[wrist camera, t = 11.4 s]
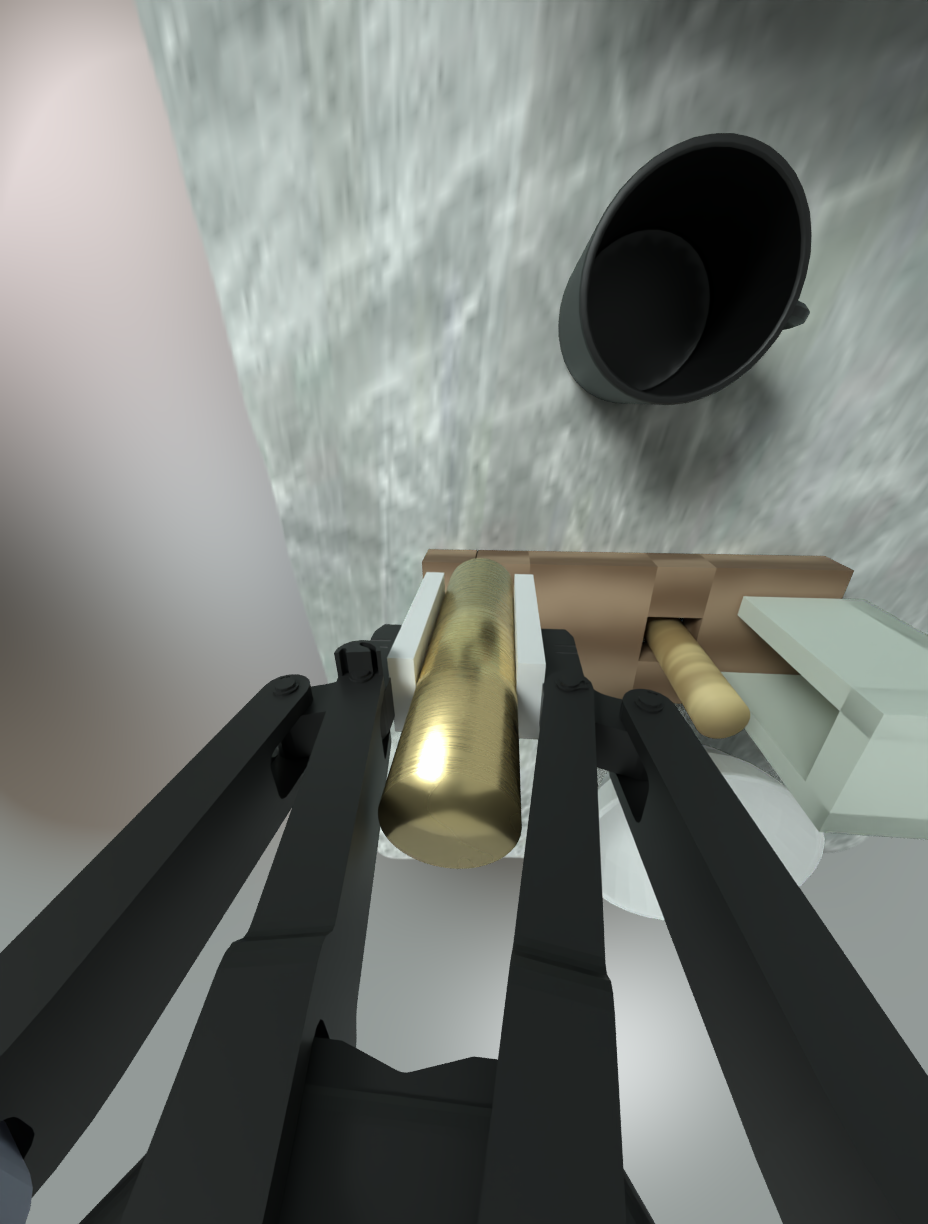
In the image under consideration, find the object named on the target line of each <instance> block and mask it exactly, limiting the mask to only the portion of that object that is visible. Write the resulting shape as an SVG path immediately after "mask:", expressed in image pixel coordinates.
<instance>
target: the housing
mask: <svg viewBox="0 0 928 1224" xmlns="http://www.w3.org/2000/svg"><path fill="white" fill-rule="evenodd" d="M738 616H739V617H740V618H741V619H742V620H743V621H744V622H745V623H747V624H748V625H749V626H750V627H751V628H752V629H753V630H754V631H755V632H756V633H757V634H758V635H759V636H760V637H761V638H762V639H764V640H765V641H766V642H767V643H768V644H769V645H770V646H771V647H772V648H773V649H774V650H775V651H776V652H777V653H778V654H780V655H781V656H782V657H783V658H784V659H785V660H786V661H787V662H788V663H789V664H790V665H791V666H792V667H793V668H794V669H795V670H797V671H798V672H799V673H800V674H801V675H786V674H761V673H736V672H721V673H722V674H723V676H724V677H725V678H726V679H727V681H728V682H729V683H730V685H731V686H732V687H733V688H734V690H735V691H736V692H737V694H738V695H739V696H740V697H741V699H742V700H743V701H744V703H745V704H746V705H747V706H748V708H749V710H750V720H749V722H748V724H747V726H746V727H745V728H744V729H745V730H746V731H747V733H748V734H749V736H750V737H751V738H752V740H753V741H754V742H755V744H756V745H757V747H758V748H759V749H760V751H761V752H762V754H763V755H764V756H765V758H766V759H767V761H768V762H769V763H770V765H771V766H772V768H773V769H774V770H775V772H776V773H777V774H778V776H779V777H780V779H781V780H782V781H783V783H784V784H785V786H786V787H787V788H788V790H789V791H790V793H791V794H792V795H793V797H794V798H795V799H796V801H797V802H798V804H799V805H800V806H801V808H802V809H803V811H804V812H805V813H806V815H807V816H808V818H809V819H810V820H811V822H812V823H813V825H814V826H815V827H816V829H817V830H818V831H819V832H824V833H839V834H853V835H867V836H882V837H896V838H911V839H925V840H928V635H926V634H925V633H923V632H921V631H919V630H918V629H916V628H914V627H912V626H910V625H909V624H907V623H905V622H903V621H902V620H900V619H898V618H896V617H894V616H893V615H891V614H889V613H887V612H886V611H884V610H882V609H880V608H878V607H877V606H875V605H873V604H871V603H870V602H868V601H866V600H864V599H829V598H790V597H750V596H743V599H742V602H741V605H740V609H739V612H738Z"/></svg>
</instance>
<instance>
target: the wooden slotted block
mask: <svg viewBox="0 0 928 1224" xmlns="http://www.w3.org/2000/svg"><path fill="white" fill-rule="evenodd" d="M476 558H486V559H490V560H493V561H496V562H498V563H499V564H501V565H502V566H503V567H505V568H506V570H507V571H508V572H509V574H510V575H511V577H512V580H513V584H514V577H515V574H531V575H533V577H534V584H535V591H536V598H537V605H538V613H539V620H540V627H541V629H566V630H567V631H568V632H569V633H570V634H571V635H572V636H573V637H574V641H575V644H576V648H577V652H578V655H579V659H580V663H581V666H582V670H583V674H584V677H586V678H587V679H588V680H589V681H591V683H592V685H593V689H594V690H596V691H598V692H600V693H602V694H604V695H607V696H611V697H615V698H619V699H622V698H623V696H624V694H625V693H626V692H628V691H630V690H633V689H649V690H652V691H655V692H659V693H661V694H662V695H664V696H666V697H668V698H669V699H670V700H671V701H672V702H673V703H677V704H683V706H684V708H685V709H686V711H687V713H688V715H689V716H690V718H691V720H692V722H693V723H694V725H695V727H696V729H697V730H698V731H699V732H700V733H701V734H702V735H704V736H706V737H709V738H716V739H720V738H727V737H730V736H733V735H735V734H737V733H739V732H740V731H742V730H743V729H744V728H745V727H746V726H747V724H748V722H749V720H750V710H749V708H748V706H747V705H746V704H745V703H744V701H743V700H742V699H741V697H740V696H739V695H738V694H737V692H736V691H735V690H734V688H733V687H732V686H731V685H730V683H729V682H728V681H727V679H726V678H725V677H724V676H723V674H722V673H721V672H736V673H761V674H786V675H801V674H800V673H799V672H798V671H797V670H795V669H794V668H793V667H792V666H791V665H790V664H789V663H788V662H787V661H786V660H785V659H784V658H783V657H782V656H781V655H780V654H778V653H777V652H776V651H775V650H774V649H773V648H772V647H771V646H770V645H769V644H768V643H767V642H766V641H765V640H764V639H762V638H761V637H760V636H759V635H758V634H757V633H756V632H755V631H754V630H753V629H752V628H751V627H750V626H749V625H748V624H747V623H745V622H744V621H743V620H742V619H741V618H740V617H739V616H738V612H739V609H740V605H741V602H742V599H743V596H750V597H790V598H829V599H842V598H843V595H844V593H845V591H846V588H847V586H848V584H849V581H850V579H851V577H852V574H853V572H854V570H852V569H850V568H848V567H846V566H844V565H842V564H840V563H838V562H836V561H834V560H832V559H830V558H828V557H826V556H789V555H731V554H673V553H614V552H556V551H497V550H478V553H477V550H439V549H429V550H428V552H427V553H426V555H425V557H424V559H423V561H422V570H423V579H424V576H425V574H426V572H441V573H444V577H445V593H446V590H447V587H448V584H449V580H450V577H451V575H452V573H453V572H454V570H455V569H456V568H457V567H458V566H459V565H461V564H462V563H464V562H466V561H468V560H471V559H476ZM679 618H683V622H681V621H680V619H679ZM643 636H644V638H645V640H646V641H647V643H644V642H642V641H643Z"/></svg>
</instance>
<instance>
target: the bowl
mask: <svg viewBox="0 0 928 1224" xmlns="http://www.w3.org/2000/svg"><path fill="white" fill-rule="evenodd" d="M702 746H703V747H704V749H705V750H706V751H707V753H708V754H709V756H710V757H711V759H712V760H713V762H714V763H715V765H716V766H717V768H718V769H719V771H720V772H721V773H722V775H723V776H724V778H725V779H726V781H727V782H728V784H729V785H730V787H731V788H732V790H733V791H734V793H735V794H736V795H737V797H738V798H739V800H740V801H741V803H742V804H743V806H744V807H745V809H746V810H747V812H748V813H749V815H750V816H751V817H752V819H753V820H754V822H755V823H756V825H757V826H758V828H759V829H760V831H761V832H762V834H763V835H764V837H765V838H766V839H767V841H768V842H769V844H770V845H771V847H772V848H773V850H774V851H775V853H776V854H777V856H778V857H779V859H780V860H781V861H782V863H783V864H784V866H785V867H786V869H787V870H788V872H789V873H790V875H791V876H792V878H793V879H794V881H795V882H796V883H797V885H798V886H799V887H800V886H801V885H802V884H803V883H804V882H805V881H806V880H807V879H808V878H809V877H810V875H811V874H812V873H813V872H814V871H815V869H816V867H817V865H818V863H819V861H820V860H821V857H822V855H823V849H824V844H825V838H824V832H819V831H818V830H817V829H816V827H815V826H814V825H813V823H812V822H811V820H810V819H809V818H808V816H807V815H806V813H805V812H804V811H803V809H802V808H801V806H800V805H799V804H798V802H797V801H796V799H795V798H794V797H793V795H792V794H791V793H790V791H789V790H788V788H787V787H786V786H785V785H784V784H782V783H781V782H779V781H778V780H776V779H775V778H773V777H772V776H771V775H769V774H768V773H766V772H765V771H763V770H761V769H759V768H758V767H756V766H754V765H753V764H751V763H749V762H746V761H744V760H742V759H739V758H737V757H735V756H732V755H730V754H727V753H724V752H722V751H721V750H718V749H715V748H712V747H710V746H707V745H702ZM598 806H599V829H600V852H601V875H602V897H603V898H604V899H606V900H607V901H608V902H610V903H611V904H613V905H615V906H617V907H620V908H622V909H624V910H626V911H628V912H632V913H634V914H638V915H641V916H644V917H649V918H654V919H659V920H664V917H663V914H662V912H661V909H660V907H659V904H658V901H657V899H656V896H655V894H654V891H653V888H652V886H651V883H650V880H649V878H648V875H647V873H646V870H645V867H644V865H643V862H642V860H641V857H640V854H639V852H638V849H637V846H636V844H635V841H634V839H633V836H632V833H631V831H630V828H629V826H628V823H627V820H626V818H625V815H624V812H623V810H622V807H621V805H620V802H619V799H618V797H617V794H616V792H615V789H614V786H613V784H612V781H611V779H610V776H609V771H608V772H607V774H606V775H605V776H604V778H603V779H602V782H601V784H600V786H599V787H598Z"/></svg>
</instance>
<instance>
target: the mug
mask: <svg viewBox="0 0 928 1224" xmlns="http://www.w3.org/2000/svg"><path fill="white" fill-rule="evenodd" d="M810 253H811V221H810V211H809V207H808V203H807V199H806V196H805V193H804V190H803V187H802V185H801V183H800V181H799V179H798V177H797V175H796V173H795V172H794V170H793V169H792V168H791V166H790V165H789V164H788V162H787V161H786V160H785V159H784V158H783V157H782V156H781V155H780V154H779V153H778V152H776V151H775V150H774V149H773V148H772V147H770V146H769V145H767V144H765V143H763V142H761V141H759V140H757V139H754V138H751V137H748V136H743V135H739V134H734V133H717V134H709V135H704V136H699V137H694V138H691V139H689V140H686V141H684V142H681V143H679V144H676V145H674V146H672V147H670V148H669V149H667V150H665V151H664V152H662V153H660V154H659V155H657V156H655V157H654V158H653V159H651V160H650V161H649V162H648V163H647V164H645V165H644V166H643V167H642V168H641V169H639V170H638V171H637V172H636V173H635V174H634V175H633V176H632V177H631V178H630V179H629V180H628V181H627V183H626V184H625V185H624V186H623V187H622V188H621V189H620V190H619V192H618V193H617V194H616V196H615V197H614V199H613V200H612V202H611V203H610V204H609V206H608V207H607V209H606V211H605V212H604V214H603V216H602V218H601V220H600V221H599V223H598V225H597V227H596V229H595V231H594V233H593V235H592V236H591V238H590V240H589V242H588V244H587V246H586V248H585V250H584V252H583V254H582V256H581V257H580V259H579V261H578V263H577V265H576V267H575V269H574V271H573V273H572V275H571V277H570V278H569V281H568V284H567V286H566V289H565V291H564V295H563V298H562V302H561V306H560V313H559V341H560V347H561V352H562V355H563V358H564V361H565V363H566V365H567V367H568V369H569V371H570V373H571V375H572V376H573V377H574V379H575V380H576V381H577V383H578V384H579V385H581V386H582V387H583V388H584V389H585V390H586V391H587V392H589V393H590V394H592V395H594V396H595V397H598V398H600V399H602V400H606V401H610V402H614V403H633V404H658V405H674V404H682V403H688V402H691V401H695V400H698V399H701V398H704V397H707V396H709V395H711V394H713V393H715V392H718V391H720V390H721V389H723V388H725V387H726V386H728V385H729V384H731V383H733V382H734V381H735V380H737V379H738V378H739V377H741V376H742V375H743V374H744V373H746V372H747V371H748V370H749V369H751V368H752V367H753V366H754V365H755V364H756V363H757V362H758V360H759V359H760V358H761V357H762V356H763V355H764V354H765V353H766V352H767V351H768V349H769V348H770V347H771V346H772V344H773V343H774V342H775V340H776V339H777V338H778V337H779V335H780V333H781V332H782V330H785V329H790V328H793V327H795V326H798V325H801V324H803V323H804V322H805V321H806V319H807V317H808V315H809V313H810V311H809V309H808V308H807V306H806V305H805V304H804V303H802V302H800V301H798V299H799V297H800V294H801V291H802V288H803V285H804V281H805V278H806V274H807V270H808V264H809V259H810Z"/></svg>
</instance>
